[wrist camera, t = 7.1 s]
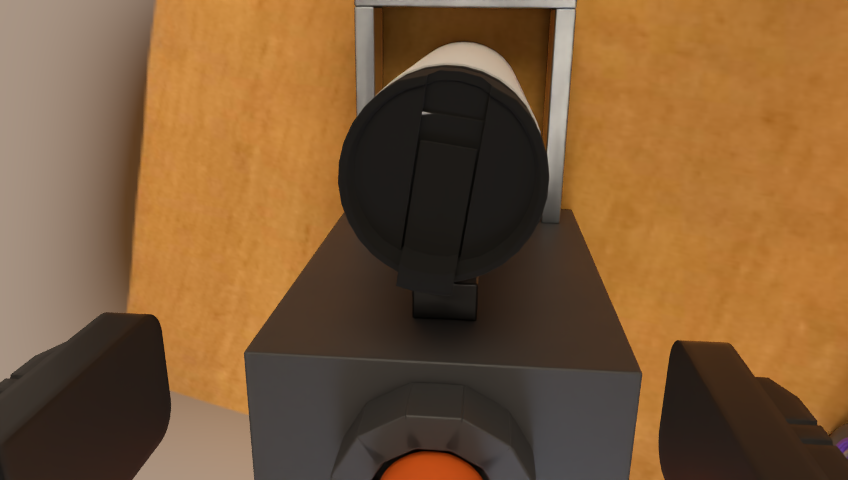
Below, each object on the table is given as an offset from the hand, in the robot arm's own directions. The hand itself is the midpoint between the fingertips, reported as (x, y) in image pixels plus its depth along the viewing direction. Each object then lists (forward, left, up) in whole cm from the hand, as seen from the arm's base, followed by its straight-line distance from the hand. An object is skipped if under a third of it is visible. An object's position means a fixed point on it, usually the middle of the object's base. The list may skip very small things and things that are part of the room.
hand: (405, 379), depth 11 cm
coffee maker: (+9, 0, -29) cm, 31 cm away
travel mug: (-1, 0, -30) cm, 30 cm away
